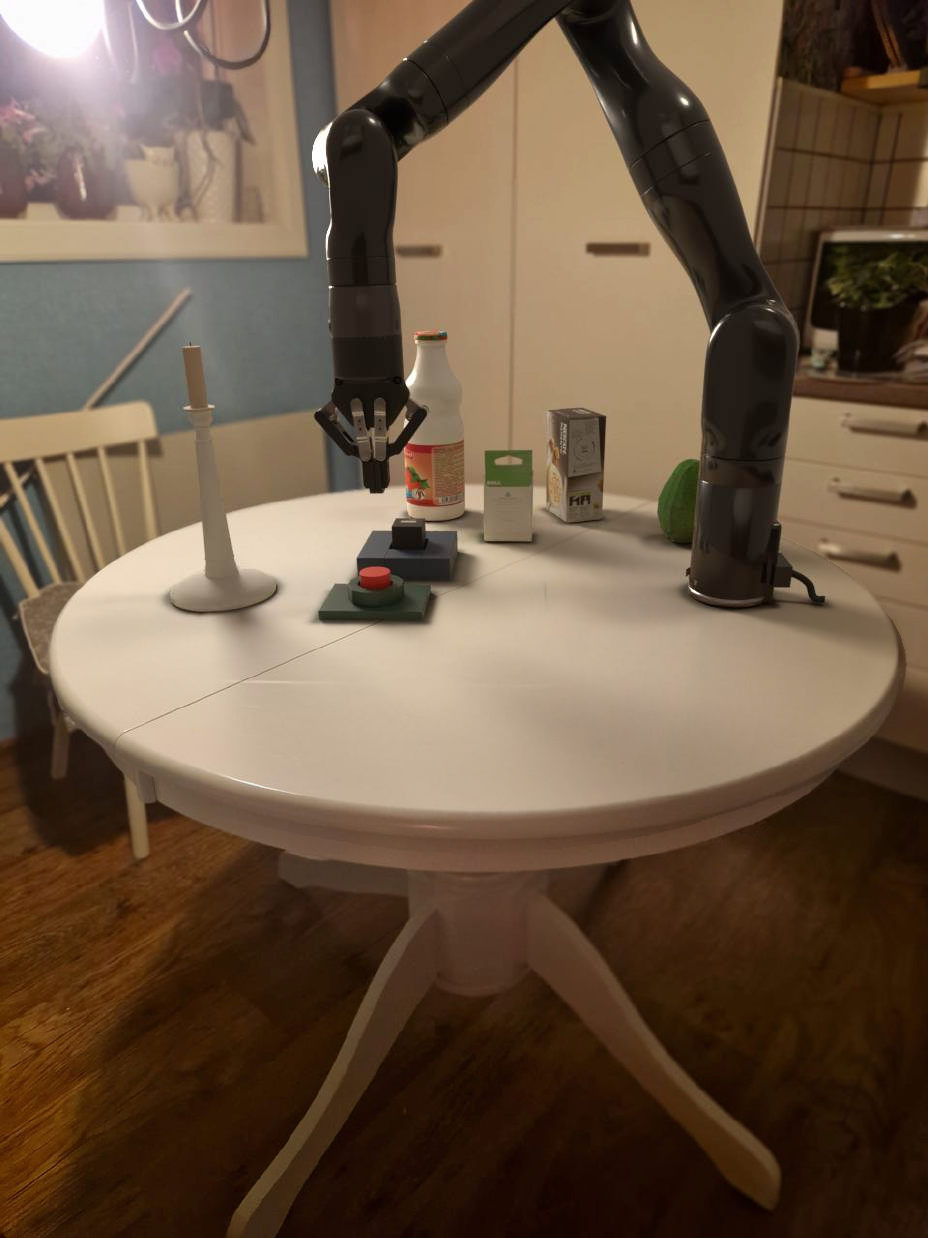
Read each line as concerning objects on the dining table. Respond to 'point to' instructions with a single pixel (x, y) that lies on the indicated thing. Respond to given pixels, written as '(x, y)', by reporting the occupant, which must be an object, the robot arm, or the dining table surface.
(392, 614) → the red push button plate
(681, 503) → the avocado
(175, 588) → the candlestick
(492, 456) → the ink box
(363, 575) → the power button
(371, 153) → the robot arm
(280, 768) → the dining table surface
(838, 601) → the dining table surface
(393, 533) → the block
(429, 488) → the fruit juice
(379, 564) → the square socket block
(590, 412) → the coffee box
